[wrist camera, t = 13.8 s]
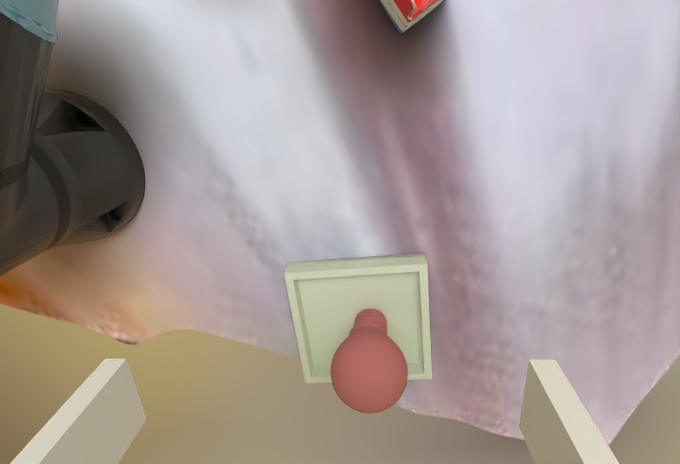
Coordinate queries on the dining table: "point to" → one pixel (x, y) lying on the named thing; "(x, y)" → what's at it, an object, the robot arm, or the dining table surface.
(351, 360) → the light bulb
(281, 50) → the dining table surface
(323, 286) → the tray
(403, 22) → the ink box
